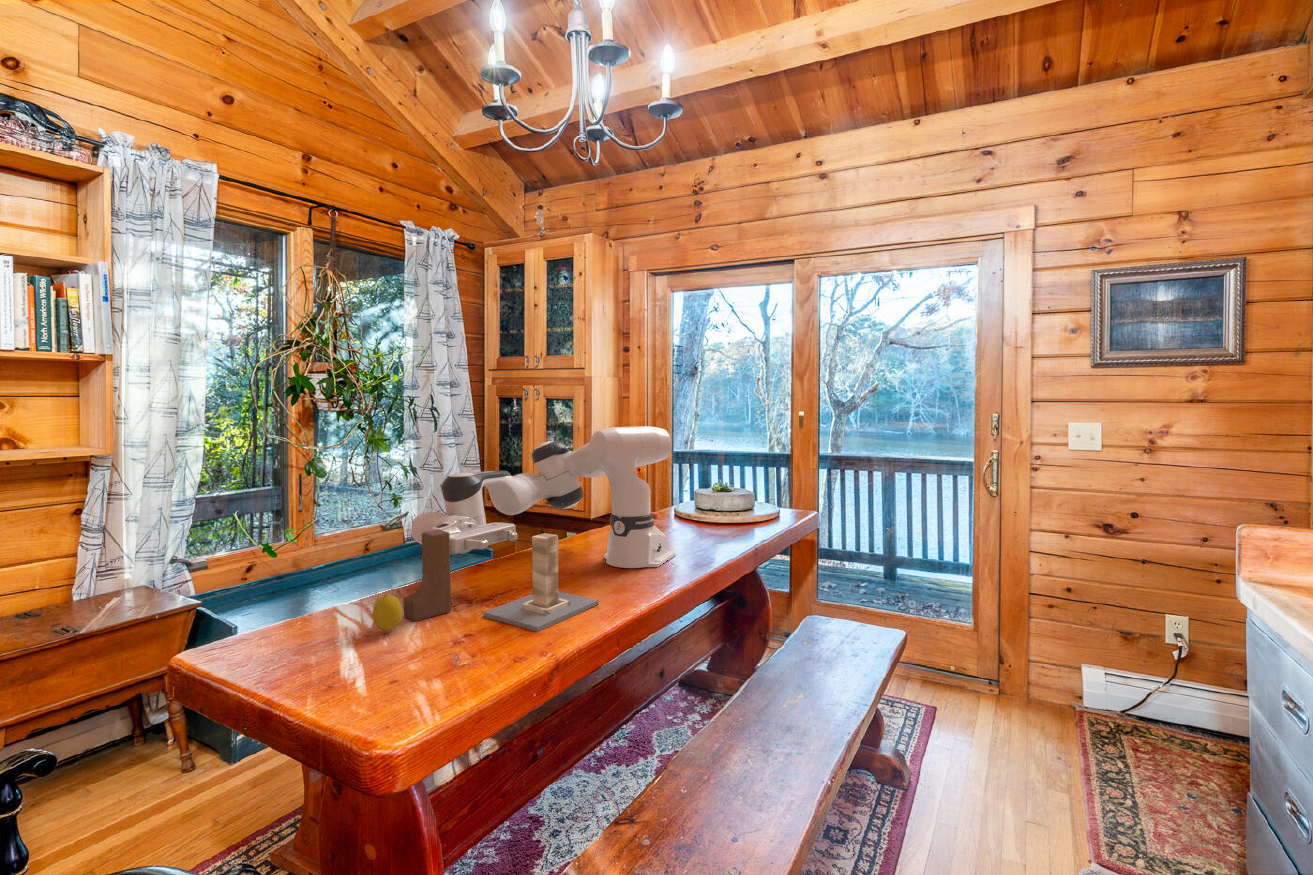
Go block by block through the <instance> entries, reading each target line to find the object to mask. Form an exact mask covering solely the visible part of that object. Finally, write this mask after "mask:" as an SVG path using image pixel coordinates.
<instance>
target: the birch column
mask: <svg viewBox="0 0 1313 875" xmlns="http://www.w3.org/2000/svg"><path fill="white" fill-rule="evenodd" d="M531 542H532V543H531V544H532V545H531V549H532V550H531V551H532V552H531V554H532V555H531V557H532V559H531V561H532V564H531V565H532V568H531V569H532V594H533V605H534V606H538V607H542V608H546V609H547V608H550V607H552V606H555V605H557V604H559V590H560V589H559V588H560V587H559V535H557V534H553V533H545V532H544V533H540V534H536V535H533V536H531Z"/></svg>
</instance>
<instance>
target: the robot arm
mask: <svg viewBox="0 0 1313 875" xmlns="http://www.w3.org/2000/svg"><path fill="white" fill-rule="evenodd" d="M569 448H571V445H566V444H565V443H564V442H561V441H557V440H549V441H544V442H541V443H540V444H538V446H536V447H535V449H533V450H532V452H531V458H532V463H533V464H534V467H535V469H536V472H537V474H536V473H533V472H522V473H518V474H514V475H512V474H511V473H510V471H507V470H485V471H479V472H478V471H477V472H456V473H452V474H451V475H448V476H447V477H445V479H444V481H443V482H442V484H441V485H440V488H441V494H442V498H443V500H444V508H445V513H439V512H424V513H420V514H418V515H416V517H415V518H414V519H413V521H412V524H411V536H412V537H413V540H414V541H415V542H417V543H418V544H420V545H422V533H423V532H428V531H434V530H442V531H446V532H449V538H450V556H451V555H458V554H467V553H469V552H471V551H472V550H481V551H482V550H486V549H487V548H488V546H491V545H495V544H499V543H502V542H506V541H509V542H515V541H518V539H519V538H518V536H519V535H518V533H517V529H516V524H514V523H510V522H509V523H508V522H490V523H487V520H486V513H485V507H484V505H485V504H484V498H483V487H485V488H486V489H487V491H488V494H489V498H490V501H491V503H492V505H493V506H494V508H495V509H496V510H497V511H498V512H500V513H502V514H504V515H507V516H514V515H518V514H521V513H523V512H525V511H527V510H528V509H530V508H531V507H533V506H534V505H535V504H537V503H538V502H539V501H542V500H545V502H544V504H545V505H547V506H550V507H553V508H554V509H559V510H563V509H564V510H565V509H566V510H567V509H571V508H573V507H574V506H576V505H578V503H579V502H580V501H582V499H583V498H584V491H583V490H584V489H583V486H582V485H581V483H580V479H579V477H578V476H580V477H582V478H596V477H602V476H606V478H607V479H608V483H609V484H610V485H609V486H610V492H611V493H610V494H611V513H610V517H609V521H610V522H609V523H610V524H609V526H610V527H611V528H610V530H608V534H607V535H608V536H607V548H606V553H604V556H603V557H604V559H605V560H606V561H605V562H606V564H607V565H609V566H611V567H616V568H622V569H623V568H624V569H640V568H658V567H661V566H662V565H664V564H665V563H666V561H667V560H668V561H670V560H672V559H673V558H674V557H676V555H677V554H676V551H674V550H672V549H669V547H668V538H667V536H666V534H665V533H663V532H662V531H661V529H659V528H658V527H657V526H656V525H655V520H657V521H658V519H659V518H660V513H659V512H654V511H651V492H652V490H651V487H650V485H649V483H648V482H646V481H645V480H644V479H642V478H640V477H639V476H638V474H637V471H636V468H639V467H644V466H648V465H652V464H655V463H659V462H661V461H665V460H667V459H668V458H669V456H670V454H671V451H672V439H671V436H670V434H669V433H668V431H667V430H666V429H665V428H662V427H656V426H651V425H650V426H649V425H643V426H641V425H639V426H616V427H615V426H613V427H607V428H606V427H605V428H603V429H599V430H597V431H594V432H593V434H592V435H591V437H590V439H589V441H588V442H587V443H585V444H584V445H581V446H580V447H579V448H577V449H575V450H571V449H569ZM668 561H667V562H668ZM663 563H664V564H663ZM660 565H661V566H660Z"/></svg>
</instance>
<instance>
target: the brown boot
mask: <svg viewBox="0 0 1313 875" xmlns="http://www.w3.org/2000/svg"><path fill="white" fill-rule="evenodd" d="M421 564H422V565H421V566H422V577H421V582H420V586H418V588H417V589H416V591H415V592H413V593H411V594H409V595H406V596H404V597H403V600H402V601H403V603H402V604H403V607H402V608H403V618H405V619H406V620H408V621H410V622H413V623H414V622H418V621H421V620H424V619H425V620H427V619H429V618H433V617H436V616H441V615H444V614H448V613H450V612H452V602H451V601H452V597H451V596H452V592H451V590H452V589H451V555H450V538H449V532H446V531H442V530H434V531H428V532H423V533H422V544H421Z"/></svg>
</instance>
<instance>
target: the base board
mask: <svg viewBox="0 0 1313 875" xmlns="http://www.w3.org/2000/svg"><path fill="white" fill-rule="evenodd" d="M599 603H600V602H599V599H595V598H594V599H593V598H590V597H585V596H581V595H577V594H572V593H567V592H563V591H559V604H557V605H555V606H552V607H550V608H547V609H546V608H542V607H538V606H534V605H533V593H531V594H528V595H526V596H523V597H520V598H517V599H514V600H512V601H509V602H507V603H504V604H501V605H498V606H496V607H493V608H491V609H488V610H486V611H483V612H482V614H483V617H484V618H488V619H490V620H495V621H499V622H501V623H505V624H509V625H512V626H516V627H519V628H523V629H526V630H530V631H533V632H536V633H537V632H539V631H542V630H544V629H547V628H549V627H551V626H554V625H556V624H559V623H560V622H563V621H564V620H567V619H569V618H571V617H574V616H576V615H579V614H581V613H582V612H585V611H588V610H590V609H592V608H594V607H596V606H595V605H597V604H599ZM593 606H594V607H593ZM597 606H598V605H597ZM591 607H592V608H591ZM589 608H590V609H589ZM587 609H588V610H587Z"/></svg>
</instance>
